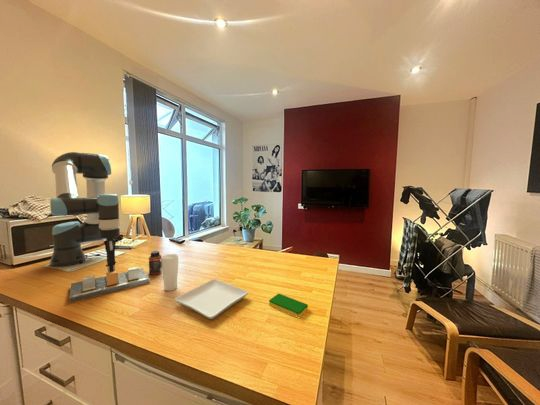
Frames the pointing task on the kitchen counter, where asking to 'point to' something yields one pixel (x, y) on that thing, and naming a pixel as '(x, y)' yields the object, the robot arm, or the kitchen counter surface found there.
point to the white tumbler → (170, 271)
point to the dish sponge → (288, 305)
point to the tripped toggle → (112, 278)
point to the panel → (99, 285)
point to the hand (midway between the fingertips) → (111, 278)
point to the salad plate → (211, 298)
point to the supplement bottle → (155, 263)
